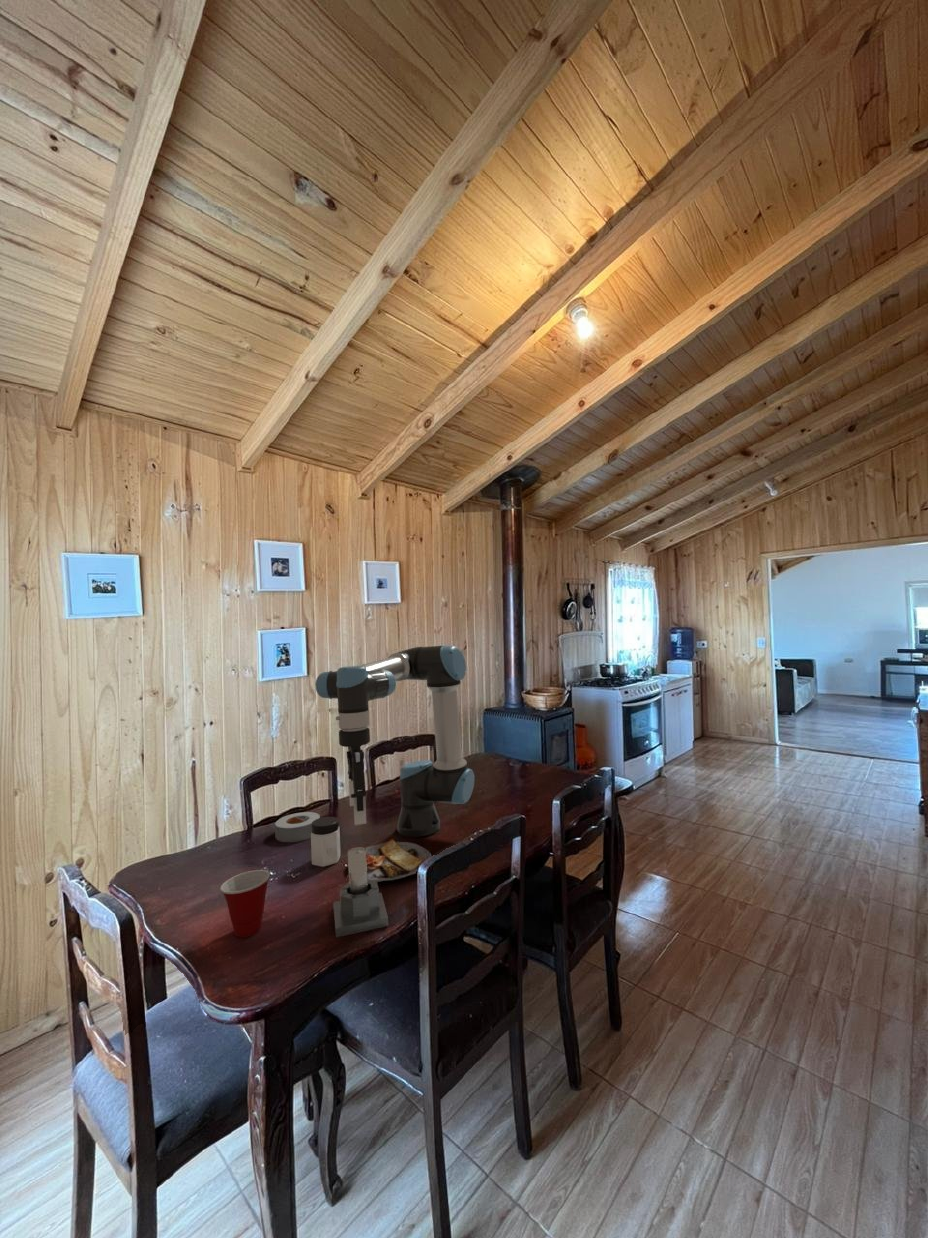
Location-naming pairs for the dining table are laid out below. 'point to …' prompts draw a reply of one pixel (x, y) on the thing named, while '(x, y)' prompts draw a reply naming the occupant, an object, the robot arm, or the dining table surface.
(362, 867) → the pipe stub
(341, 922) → the valve body
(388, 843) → the food plate
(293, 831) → the tape roll
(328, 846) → the jar
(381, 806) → the dining table surface
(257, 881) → the plastic cup
